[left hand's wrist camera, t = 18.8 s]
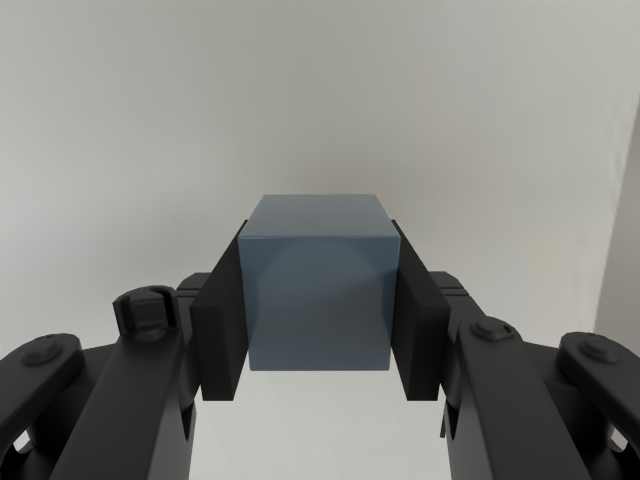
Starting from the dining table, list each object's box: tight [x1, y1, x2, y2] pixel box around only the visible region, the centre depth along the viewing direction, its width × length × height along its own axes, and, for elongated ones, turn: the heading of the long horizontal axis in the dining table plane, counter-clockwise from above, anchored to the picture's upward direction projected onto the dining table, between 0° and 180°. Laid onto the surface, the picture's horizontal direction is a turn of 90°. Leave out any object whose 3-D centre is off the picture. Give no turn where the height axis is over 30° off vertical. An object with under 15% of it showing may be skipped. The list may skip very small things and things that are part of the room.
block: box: [238, 195, 401, 371], centre depth 12 cm, size 4×4×5 cm
